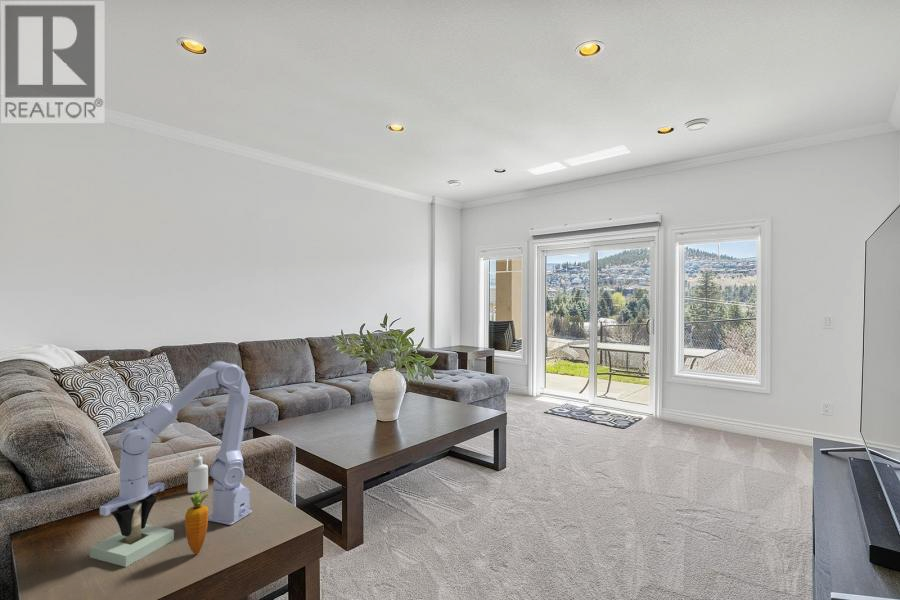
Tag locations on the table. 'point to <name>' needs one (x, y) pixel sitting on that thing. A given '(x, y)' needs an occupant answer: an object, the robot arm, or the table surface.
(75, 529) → the table surface
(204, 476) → the eye dropper bottle
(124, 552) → the hole block
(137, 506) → the ash wood peg
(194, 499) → the carrot
